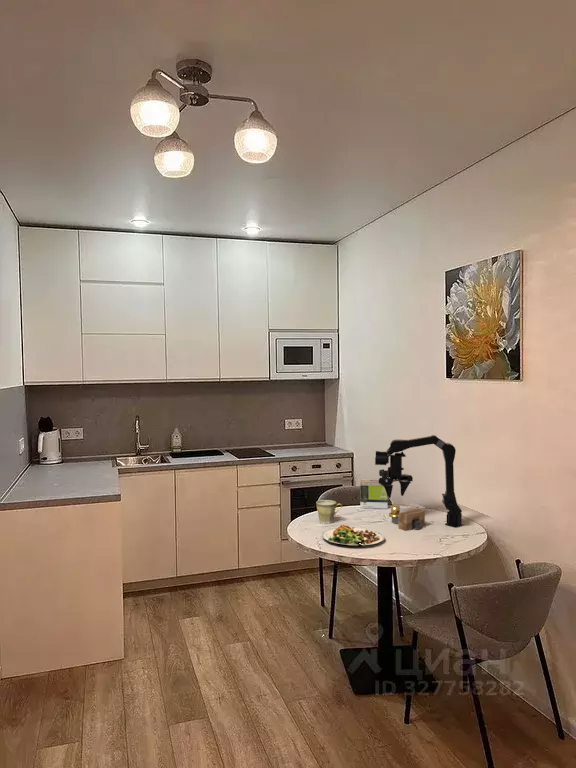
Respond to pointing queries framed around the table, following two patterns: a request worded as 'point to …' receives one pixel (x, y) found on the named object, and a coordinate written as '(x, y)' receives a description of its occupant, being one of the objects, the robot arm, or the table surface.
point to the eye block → (410, 519)
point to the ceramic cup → (326, 510)
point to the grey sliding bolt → (395, 517)
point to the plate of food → (352, 535)
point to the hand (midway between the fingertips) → (395, 496)
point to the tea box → (372, 494)
